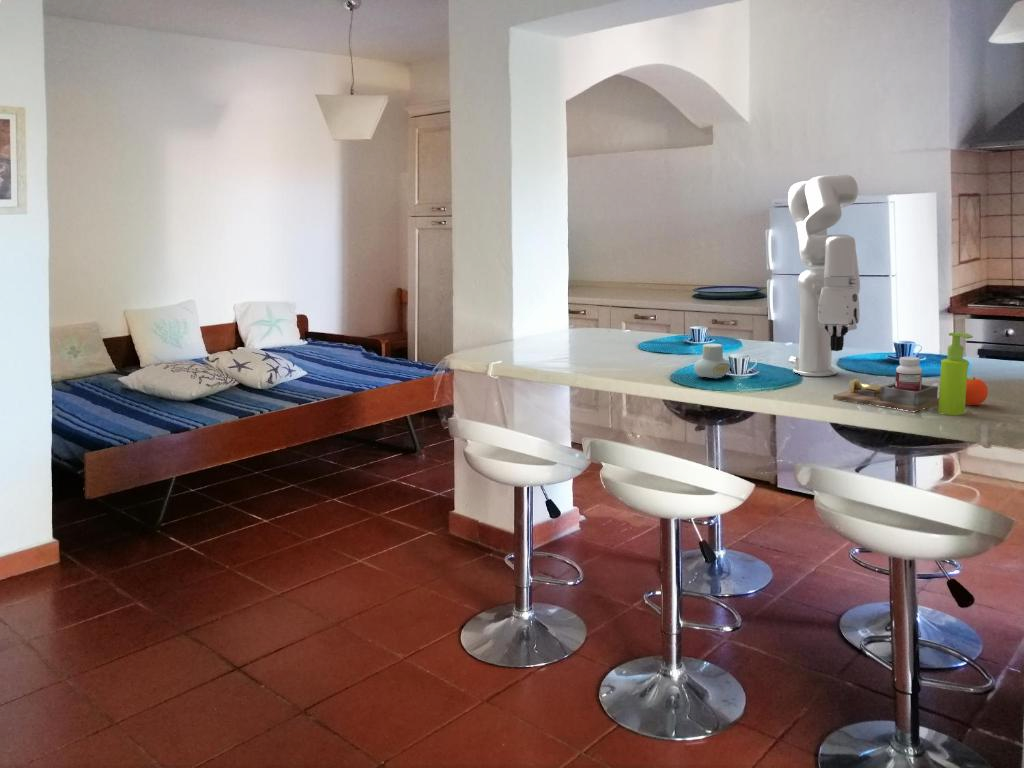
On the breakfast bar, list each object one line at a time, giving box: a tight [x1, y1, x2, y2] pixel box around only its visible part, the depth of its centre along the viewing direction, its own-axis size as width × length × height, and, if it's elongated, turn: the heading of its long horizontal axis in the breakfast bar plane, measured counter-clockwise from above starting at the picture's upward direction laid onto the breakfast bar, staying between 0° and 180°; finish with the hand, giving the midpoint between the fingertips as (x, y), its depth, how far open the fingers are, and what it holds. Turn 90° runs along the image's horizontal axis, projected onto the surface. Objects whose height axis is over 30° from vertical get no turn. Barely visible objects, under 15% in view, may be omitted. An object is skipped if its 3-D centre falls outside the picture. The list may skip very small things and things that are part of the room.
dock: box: [832, 382, 939, 411], centre depth 236 cm, size 22×14×5 cm, turn 39°
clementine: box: [965, 377, 989, 406], centre depth 229 cm, size 8×7×7 cm
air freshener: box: [693, 343, 731, 378], centre depth 273 cm, size 11×8×10 cm
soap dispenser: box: [937, 332, 974, 416], centre depth 220 cm, size 6×7×20 cm
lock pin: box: [849, 378, 883, 394], centre depth 240 cm, size 9×3×3 cm, turn 39°
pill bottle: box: [894, 356, 923, 392], centre depth 231 cm, size 6×6×11 cm
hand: (836, 350), depth 245 cm, fingers closed
